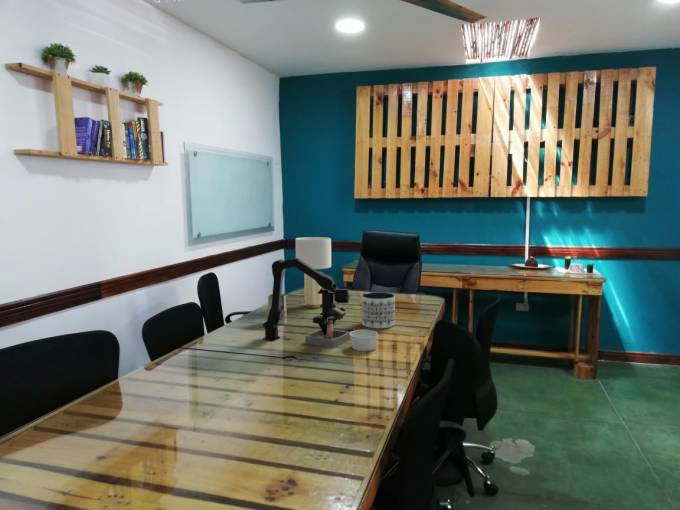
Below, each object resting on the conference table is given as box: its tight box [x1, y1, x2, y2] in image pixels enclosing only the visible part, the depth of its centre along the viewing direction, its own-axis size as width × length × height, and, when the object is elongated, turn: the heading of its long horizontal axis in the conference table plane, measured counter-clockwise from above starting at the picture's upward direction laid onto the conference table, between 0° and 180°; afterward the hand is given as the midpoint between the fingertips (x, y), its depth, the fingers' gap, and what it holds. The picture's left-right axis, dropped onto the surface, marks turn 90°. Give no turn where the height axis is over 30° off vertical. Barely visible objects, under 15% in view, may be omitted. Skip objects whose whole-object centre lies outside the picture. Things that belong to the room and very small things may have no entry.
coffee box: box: [267, 293, 288, 325], centre depth 264 cm, size 9×6×16 cm
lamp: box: [295, 236, 332, 309], centre depth 303 cm, size 23×23×44 cm
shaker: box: [323, 320, 334, 339], centre depth 229 cm, size 5×5×8 cm
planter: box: [361, 291, 396, 329], centre depth 259 cm, size 18×18×16 cm
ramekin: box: [349, 329, 379, 352], centre depth 218 cm, size 13×13×7 cm
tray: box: [304, 328, 351, 349], centre depth 229 cm, size 16×16×4 cm
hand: (328, 333), depth 229 cm, fingers closed on shaker, 5 cm apart
